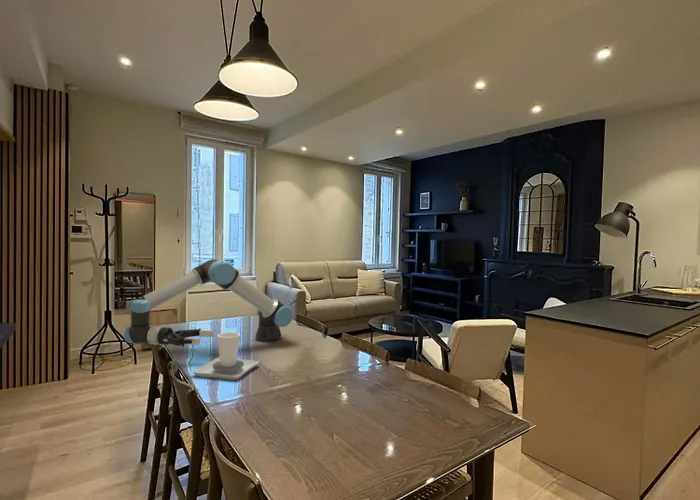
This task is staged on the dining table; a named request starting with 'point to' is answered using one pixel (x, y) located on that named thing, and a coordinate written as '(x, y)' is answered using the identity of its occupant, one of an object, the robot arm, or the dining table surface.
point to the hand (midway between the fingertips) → (207, 337)
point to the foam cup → (228, 348)
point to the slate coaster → (230, 368)
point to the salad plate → (230, 375)
